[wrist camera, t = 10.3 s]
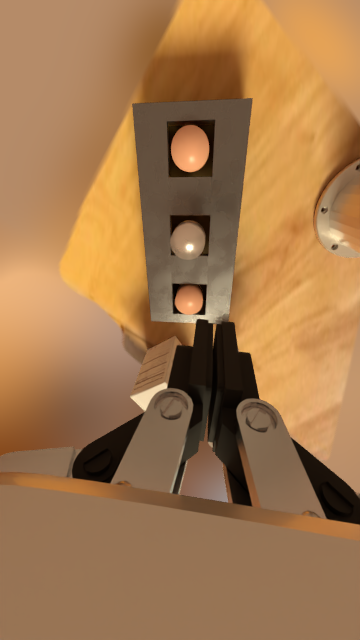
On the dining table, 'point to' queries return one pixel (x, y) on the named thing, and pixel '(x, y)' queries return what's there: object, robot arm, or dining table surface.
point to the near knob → (190, 148)
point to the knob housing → (191, 202)
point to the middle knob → (188, 240)
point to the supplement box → (154, 372)
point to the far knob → (189, 298)
